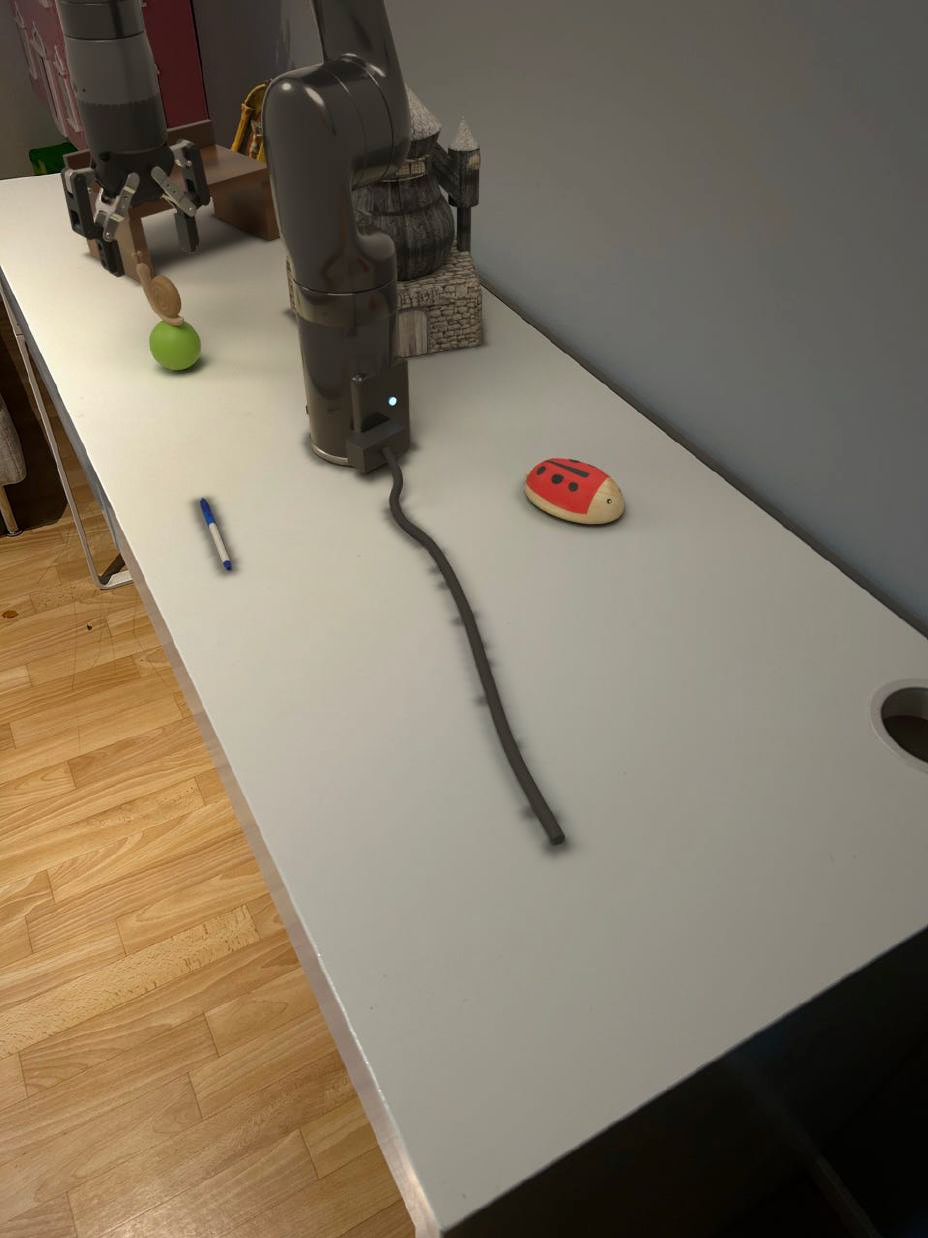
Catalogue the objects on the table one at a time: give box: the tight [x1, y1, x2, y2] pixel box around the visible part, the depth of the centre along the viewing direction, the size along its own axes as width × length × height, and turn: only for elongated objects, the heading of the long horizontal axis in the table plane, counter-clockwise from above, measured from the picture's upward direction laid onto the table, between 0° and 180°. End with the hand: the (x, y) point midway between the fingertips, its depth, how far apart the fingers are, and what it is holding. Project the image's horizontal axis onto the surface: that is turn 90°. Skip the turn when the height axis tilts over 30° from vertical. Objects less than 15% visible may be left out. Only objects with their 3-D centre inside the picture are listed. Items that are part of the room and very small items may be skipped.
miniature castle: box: [285, 82, 483, 358], centre depth 102 cm, size 22×16×30 cm
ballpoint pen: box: [199, 497, 232, 571], centre depth 82 cm, size 10×1×1 cm, turn 25°
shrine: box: [230, 78, 274, 163], centre depth 141 cm, size 12×8×15 cm
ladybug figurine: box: [524, 457, 625, 525], centre depth 85 cm, size 7×10×4 cm
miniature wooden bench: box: [62, 119, 280, 283], centre depth 125 cm, size 14×22×13 cm, turn 136°
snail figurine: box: [132, 251, 202, 371], centre depth 100 cm, size 5×6×12 cm
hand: (154, 262), depth 97 cm, fingers open, 8 cm apart
